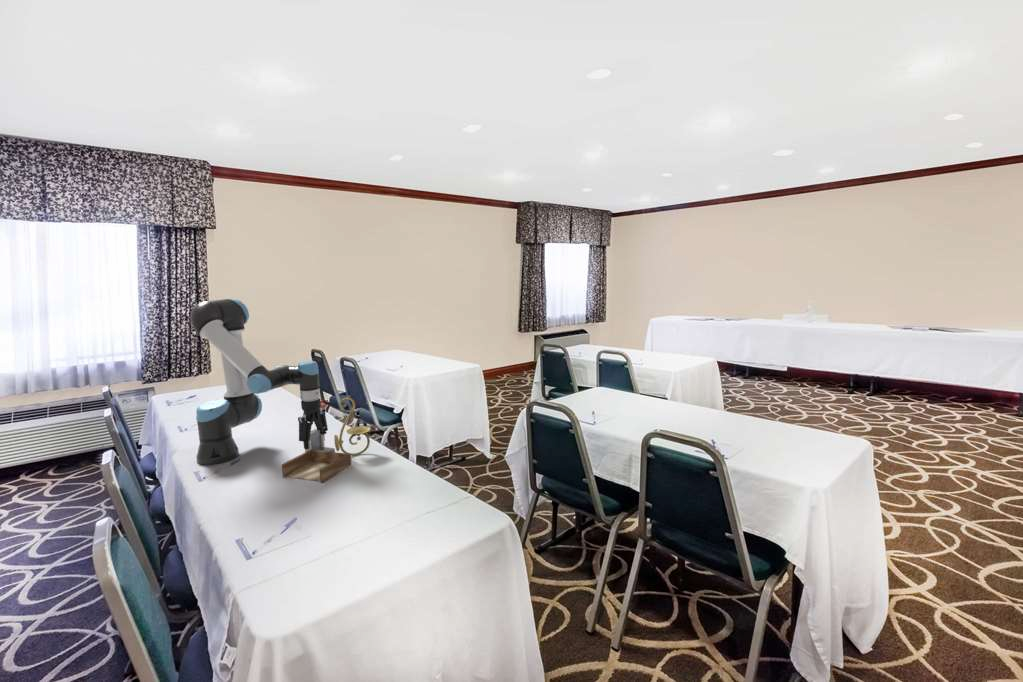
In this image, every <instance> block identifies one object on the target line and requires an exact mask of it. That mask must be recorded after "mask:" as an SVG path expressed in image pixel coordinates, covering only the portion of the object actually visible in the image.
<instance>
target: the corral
mask: <svg viewBox="0 0 1023 682" xmlns="http://www.w3.org/2000/svg"><path fill="white" fill-rule="evenodd" d="M350 453H351V452H348V454H345V453H343V452H338V451H335V452H329V451H321V450H315V449H311V450H309V451H307V452H305V451H304V452H303V453H301V454H299V455H297V456H295V457H294V458H291V459H289V460H288V461H285V462H283V463H282V464H281V471H282V478H292V479H299V480H304V481H305V480H306V481H313V482H320V483H319V484H325V483H326V482H327V481H329V480H331V479H333V478H334V477H336V476H337V475H339V474H340V473H342V472H344V471H346V470H347V469H349V468H350V467H352V456H351V454H350Z"/></svg>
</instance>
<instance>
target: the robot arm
mask: <svg viewBox="0 0 1023 682" xmlns="http://www.w3.org/2000/svg"><path fill="white" fill-rule="evenodd" d="M189 317H190V323H191V326H192V328H193V330H194V331H195V332H196V333H197V335H199V336H200V338H201V339H206V340H208V342H209V343H211V344H212V345H213V346H214V347H215V348H216V349H217V350H218V352H219V353H220V354H221V355H220V356H221V361H222V367H223V374H224V380H225V386H226V387H225V388H226V392H225V393H224V394H223V398H218V399H213V400H209V401H207V402H203V403H202V404H200V405H199V406H198V407H197V408H196V411H195V412H196V414H195V415H196V416H195V419H196V422H197V431H198V439H199V445H198V450H197V454H196V463H197V464H199V465H216V464H217V465H218V464H222V463H226V462H229V461H231V460H234V459H235V458H237V457H239V455H240V451H239V447H238V446H237V443H236V442H235V439H234V438H233V431H232V429H233V428H236V427H239V426H242V425H243V424H246V423H251V422H252V421H254V420H255V419H257V418H258V417H259V416H260V415H261V413H262V409H263V403H262V400H261V398H260V397H259V395H258V394H264V393H267V392H269V391H273V390H274V389H278V388H281V387H285V386H288V385H299V395H300V405H301V410H302V411H303V413H302V416H299V417H297V421H298V442H303V448H304V453H305V452H307V451H309V450H311V449H312V448H311V441H309V438H310V432H311V431H312V425H313V424H314V425H315V429H320V433H321V445H322V447H326V446H325V441H326V439H325V435H327V431H328V430H329V429H328V423H327V418H326V417H327V416H326V408H322V401H321V390H320V388H321V387H320V377H319V376H320V375H319V374H320V373H319V371H320V370H319V365H318V363H317V361H314V360H305V361H301V362H299V363H297V365H286V364H283V365H277V366H275V368H273V369H271V370H269V369H267V368H266V367H265V366H264V365H263V364H262V363H261V362H260V360H258V359H257V358H256V356H254V355H253V354H252V353H251V352H250V351H249V350H248V349H247V348H246V347H245V346H244V343H243V337H242V336H243V335H242V334H243V332H244V331H245V329H246V328H245V324H247V323H248V320H249V318H250V313H249V310H248V308H247V306H246V305H245V304H244V302H243V301H241V300H239V299H236V298H223V299H216V300H215V299H214V300H213V299H212V300H204V301H201V302H199V303H197V304H196V305H195V306H194V307H192V310H191V312H190V316H189Z"/></svg>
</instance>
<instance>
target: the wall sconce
mask: <svg viewBox="0 0 1023 682" xmlns="http://www.w3.org/2000/svg"><path fill="white" fill-rule="evenodd" d="M345 401H350V402H351V403H352V409H351V411H350V412H349V414H348V416H347V417H346V418H345V421H344V422H343V423H342V426H341V429H340V432H339V433H340V434H339V435H338V434H335V435H334V437H333V438H334V446H335V451H336V452H339V451H340V450H341V453H345V454H348V453H350V454H351V457H353V456H355V457H356V456H359V455H362V454H363V453H365V452H366V451H367V450H368V449H369V447H370V444H371V443H370V441H371V440H370V439H371V438H370V436H369V435H368V432H370V431H371V427H370V426H365V425H361V426H360V425H359V426H354V427H351V428H348V429H346V431H345V432H346V433H347V434H349V435H350V437H349V439H348V442H349V444H350V445H351V446H355V445H357V444H358V442H356V441H354V442H353V441H352V439H353V438H354V437H356V436H357V437H356V439H357V441H361V439H362V437H361V435H364V436H365V437H366V441H367V442H366V445H365V448H364V449H362V450H360V451H359V452H356V453H355V452H354V453H351V452H347V450H345V449H344V447H343V444H344V440H343V439H342V438H343V435H344V434H343V433H344V429H345V427H346V425H347V423H348V422H349V420H350V418H351V417H352V415H353V414H354V412H355V410H356V403H355V401H354V399H352V398H351V397H344V398H342V399H341V400H340V401H339V407H340V408H343V409H344V408H346V407H347V404H346V403H345V404H342V403H343V402H345Z"/></svg>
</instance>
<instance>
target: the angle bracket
mask: <svg viewBox="0 0 1023 682" xmlns="http://www.w3.org/2000/svg"><path fill="white" fill-rule="evenodd" d="M309 441H311V448H312V449H315V450H321V451H329V452H336V447H335V448H334V447H328V446H325V447H322V445H321V433H320V429H317V428H314V429H311V432H310V438H309Z"/></svg>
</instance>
